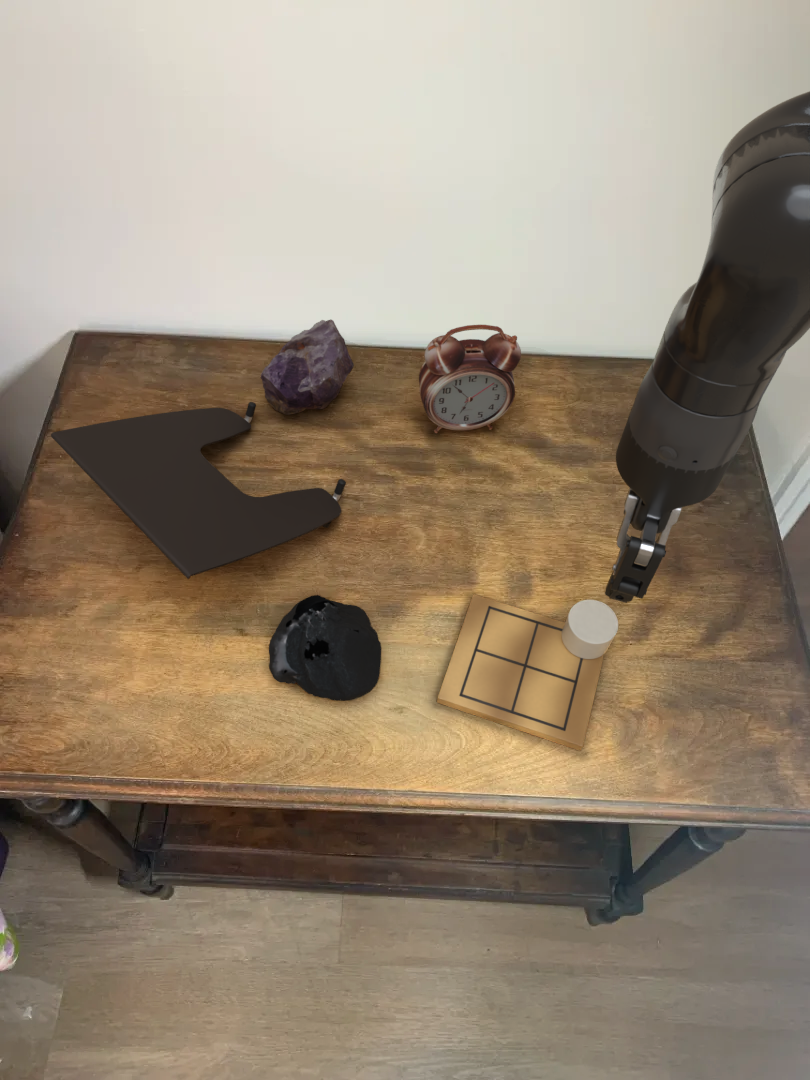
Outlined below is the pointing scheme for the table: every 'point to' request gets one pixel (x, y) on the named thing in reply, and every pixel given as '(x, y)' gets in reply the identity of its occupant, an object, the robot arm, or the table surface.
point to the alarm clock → (468, 379)
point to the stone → (589, 629)
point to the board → (520, 673)
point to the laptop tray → (191, 487)
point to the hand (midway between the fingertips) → (626, 554)
